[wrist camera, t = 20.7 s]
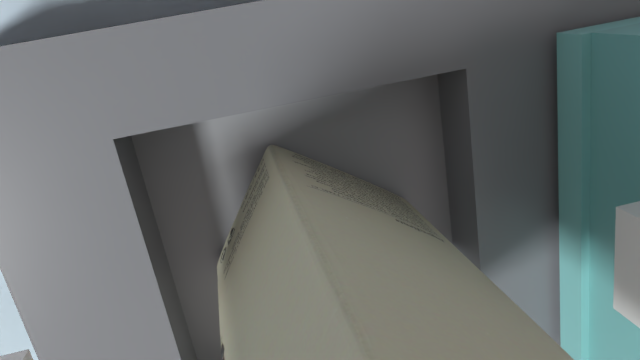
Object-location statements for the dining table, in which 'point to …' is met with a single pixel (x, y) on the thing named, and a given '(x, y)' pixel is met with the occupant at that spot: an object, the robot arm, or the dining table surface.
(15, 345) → the dining table surface
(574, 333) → the teal angle bracket
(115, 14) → the dining table surface
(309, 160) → the box
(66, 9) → the dining table surface
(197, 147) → the socket block
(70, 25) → the dining table surface
